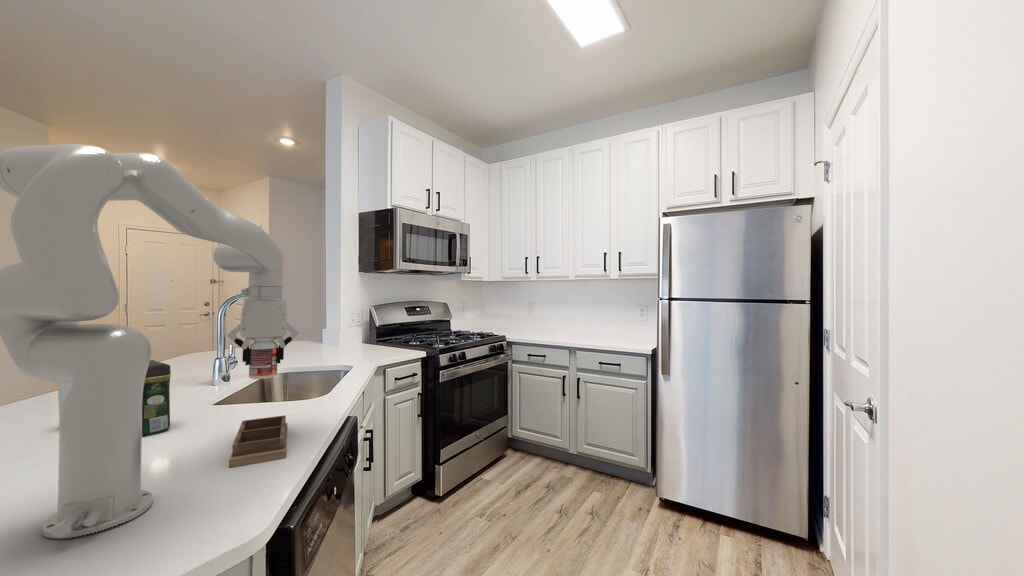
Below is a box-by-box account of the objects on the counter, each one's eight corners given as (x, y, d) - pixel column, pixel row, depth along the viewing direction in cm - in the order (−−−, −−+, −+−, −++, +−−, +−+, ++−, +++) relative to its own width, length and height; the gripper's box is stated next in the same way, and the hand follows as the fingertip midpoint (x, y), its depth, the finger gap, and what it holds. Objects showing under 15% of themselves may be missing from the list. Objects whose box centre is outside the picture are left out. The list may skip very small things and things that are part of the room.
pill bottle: (277, 378, 100) (279, 333, 101) (248, 380, 97) (250, 334, 97) (276, 374, 105) (277, 331, 106) (248, 376, 102) (249, 332, 102)
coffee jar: (121, 432, 103) (122, 361, 103) (160, 423, 110) (161, 357, 110) (134, 439, 98) (136, 365, 98) (174, 430, 105) (175, 360, 105)
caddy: (285, 458, 88) (285, 440, 88) (228, 467, 83) (229, 448, 83) (287, 427, 107) (287, 413, 107) (241, 434, 102) (241, 418, 102)
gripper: (222, 293, 94) (219, 368, 94) (303, 294, 103) (301, 363, 102) (226, 293, 101) (224, 364, 100) (302, 294, 109) (301, 359, 109)
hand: (263, 363), depth 101 cm, fingers closed on pill bottle, 6 cm apart
